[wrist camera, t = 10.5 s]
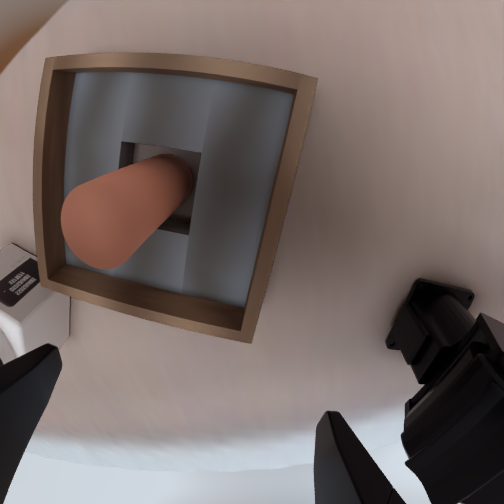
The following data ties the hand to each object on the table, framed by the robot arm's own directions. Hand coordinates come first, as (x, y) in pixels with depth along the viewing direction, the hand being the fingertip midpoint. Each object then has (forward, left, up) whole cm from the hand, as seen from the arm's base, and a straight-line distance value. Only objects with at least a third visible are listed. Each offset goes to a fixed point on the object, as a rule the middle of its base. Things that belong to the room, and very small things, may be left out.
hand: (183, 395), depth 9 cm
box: (+5, -3, -13) cm, 14 cm away
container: (+17, +9, -13) cm, 23 cm away
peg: (+5, -3, -13) cm, 14 cm away
